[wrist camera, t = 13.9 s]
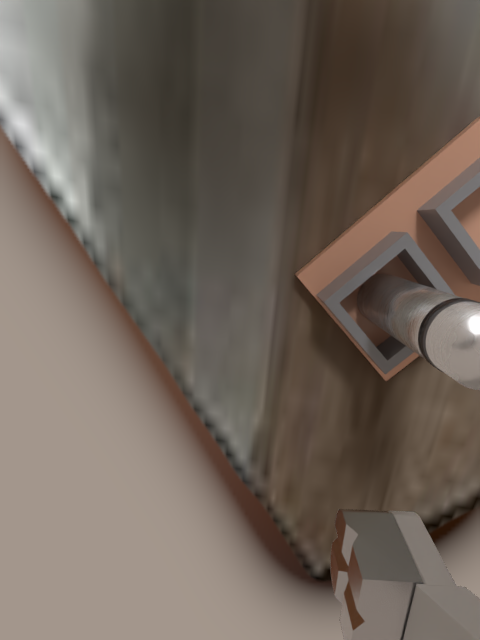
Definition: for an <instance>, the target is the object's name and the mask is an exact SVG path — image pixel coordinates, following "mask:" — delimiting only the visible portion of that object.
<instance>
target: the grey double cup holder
mask: <svg viewBox="0 0 480 640" xmlns="http://www.w3.org/2000/svg"><path fill="white" fill-rule="evenodd" d="M377 274H390V275H393V276H396V277H399V278H403V279H406V280H409V281H412V282H415V283H418V284H421V285H424V286H427V287H431V288H434V289H437V290H440V291H443V292H446V293H449V294H452V295H455V296H458V297H462V298H467V299H471V300H474V301H477V302H480V117H479V118H477V119H475V120H474V121H473V122H472V123H470V124H469V125H468V126H467V127H466V128H465V129H463V130H462V131H461V132H460V133H459V134H458V135H456V136H455V137H454V138H453V139H452V140H451V141H450V142H448V143H447V144H446V145H445V146H444V147H443V148H441V149H440V150H439V151H438V152H437V153H436V154H434V155H433V156H432V157H431V158H430V159H429V160H427V161H426V162H425V163H424V164H423V165H422V166H420V167H419V168H418V169H417V170H416V171H415V172H413V173H412V174H411V175H410V176H409V177H408V178H406V179H405V180H404V181H403V182H402V183H401V184H399V185H398V186H397V187H396V188H395V189H394V190H392V191H391V192H390V193H389V194H388V195H387V196H385V197H384V198H383V199H382V200H381V201H380V202H378V203H377V204H376V205H375V206H374V207H373V208H371V209H370V210H369V211H368V212H367V213H366V214H364V215H363V216H362V217H361V218H360V219H359V220H357V221H356V222H355V223H354V224H353V225H352V226H350V227H349V228H348V229H347V230H346V231H345V232H343V233H342V234H341V235H340V236H339V237H338V238H336V239H335V240H334V241H333V242H332V243H331V244H329V245H328V246H327V247H326V248H325V249H324V250H322V251H321V252H320V253H319V254H318V255H317V256H315V257H314V258H313V259H312V260H311V261H310V262H308V263H307V264H306V265H305V266H304V267H303V268H301V269H300V270H299V271H298V272H297V273H296V274H295V275H296V277H297V278H298V279H299V280H300V281H301V282H302V284H303V285H304V286H305V287H306V288H307V290H308V291H309V292H310V293H311V294H312V295H313V297H314V298H315V299H316V300H317V301H318V302H319V304H320V305H321V306H322V307H323V308H324V310H325V311H326V312H327V313H328V314H329V315H330V317H331V318H332V319H333V320H334V321H335V323H336V324H337V325H338V326H339V327H340V328H341V330H342V331H343V332H344V333H345V334H346V335H347V337H348V338H349V339H350V340H351V341H352V343H353V344H354V345H355V346H356V347H357V348H358V350H359V351H360V352H361V353H362V354H363V356H364V357H365V358H366V359H367V360H368V361H369V363H370V364H371V365H372V366H373V367H374V368H375V370H376V371H377V372H378V373H379V374H380V376H381V377H382V378H383V379H384V380H385V381H387V380H389V379H390V378H391V377H392V376H394V375H395V374H396V373H398V372H399V371H400V370H401V369H403V368H404V367H405V366H407V365H408V364H409V363H411V362H412V361H413V360H414V359H416V358H417V357H418V356H420V355H418V354H417V353H415V352H414V351H413V350H411V349H410V348H408V347H407V346H405V345H404V344H403V343H401V342H400V341H398V340H397V339H395V338H394V337H393V336H391V335H390V334H388V333H387V332H385V331H384V330H383V329H381V328H380V327H378V326H377V325H375V324H374V323H372V322H371V321H370V320H368V319H367V318H365V317H364V316H363V315H362V314H361V312H360V310H359V308H358V305H357V295H358V292H359V289H360V287H361V286H362V284H363V283H364V282H365V281H366V280H367V279H369V278H370V277H372V276H374V275H377Z"/></svg>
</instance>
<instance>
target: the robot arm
mask: <svg viewBox="0 0 480 640" xmlns="http://www.w3.org/2000/svg"><path fill="white" fill-rule="evenodd" d="M335 528H336V532H337V536H338V537H337V538H336V539H335V540H334V541H333V542H332V548H331V578H332V585H333V590H334V595H335V597H336V598H337V600H338V601H339V602H340V603H341V604H342V608H341V615H340V623H341V628H342V633H343V637H344V640H480V599H479V598H478V597H477V596H475V594H473V593H472V592H471V591H470V590H468V589H467V588H466V587H461V586H456V584H455V582H454V580H453V578H452V577H451V575H450V573H449V571H448V569H447V567H446V565H445V564H444V562H443V560H442V558H441V556H440V554H439V552H438V550H437V549H436V547H435V545H434V543H433V541H432V539H431V537H430V535H429V533H428V532H427V530H426V528H425V526H424V524H423V522H422V520H421V518H420V517H419V515H418V514H416V513H415V512H408V511H389V512H388V511H374V510H353V509H339V510H338V512H337V514H336V520H335Z"/></svg>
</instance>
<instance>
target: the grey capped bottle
mask: <svg viewBox="0 0 480 640" xmlns="http://www.w3.org/2000/svg"><path fill="white" fill-rule="evenodd" d="M357 305H358V308H359V310H360V312H361V314H362V315H363V316H364V317H365V318H367V319H368V320H370V321H371V322H372V323H374V324H375V325H377V326H378V327H380V328H381V329H383V330H384V331H385V332H387V333H388V334H390V335H391V336H393V337H394V338H395V339H397V340H398V341H400V342H401V343H403V344H404V345H405V346H407V347H408V348H410V349H411V350H413V351H414V352H415V353H417V354H418V355H420V356H421V357H423V358H424V359H426V361H427V362H429V363H430V364H431V365H433V366H434V367H435V368H437V369H438V370H440V371H442V372H444V373H446V374H447V375H448V376H450V377H451V378H453V379H454V380H456V381H457V382H459V383H460V384H462V385H463V386H465V387H468V388H470V389H474V390H480V302H477V301H474V300H471V299H467V298H462V297H458V296H455V295H452V294H449V293H446V292H443V291H440V290H437V289H434V288H431V287H427V286H424V285H421V284H418V283H415V282H412V281H409V280H406V279H403V278H399V277H396V276H393V275H390V274H377V275H374V276H372V277H370V278H369V279H367V280H366V281H365V282H364V283H363V284H362V286H361V287H360V289H359V292H358V295H357Z"/></svg>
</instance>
